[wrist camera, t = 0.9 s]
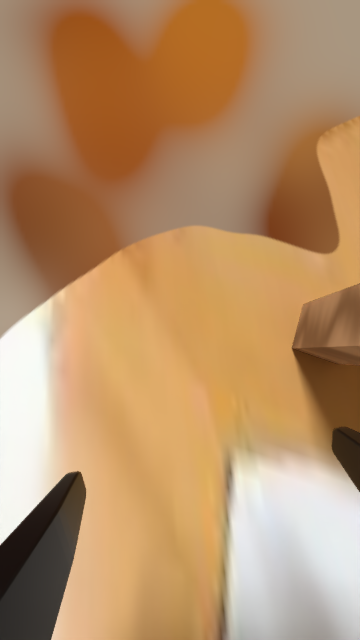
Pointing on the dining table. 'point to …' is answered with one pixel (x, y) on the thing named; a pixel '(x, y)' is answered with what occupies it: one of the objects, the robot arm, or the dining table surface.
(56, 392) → the dining table surface
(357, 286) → the cream and brown block
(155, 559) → the dining table surface
